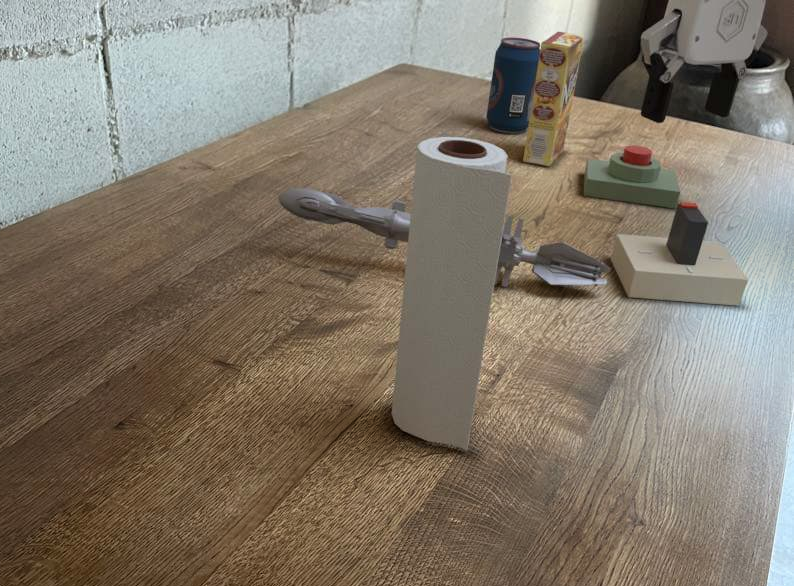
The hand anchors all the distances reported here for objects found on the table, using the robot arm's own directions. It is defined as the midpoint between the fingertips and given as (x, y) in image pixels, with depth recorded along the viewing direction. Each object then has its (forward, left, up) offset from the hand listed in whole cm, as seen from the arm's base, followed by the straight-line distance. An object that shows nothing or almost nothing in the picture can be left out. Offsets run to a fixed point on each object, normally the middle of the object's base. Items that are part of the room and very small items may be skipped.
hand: (684, 116), depth 102 cm
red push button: (+2, -17, -10) cm, 20 cm away
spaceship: (+23, +19, -14) cm, 33 cm away
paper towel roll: (+20, +49, -14) cm, 55 cm away
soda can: (+20, -39, -14) cm, 46 cm away
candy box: (+14, -27, -14) cm, 33 cm away
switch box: (+2, -17, -14) cm, 22 cm away
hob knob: (-2, +12, -11) cm, 17 cm away
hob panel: (-2, +12, -14) cm, 19 cm away
